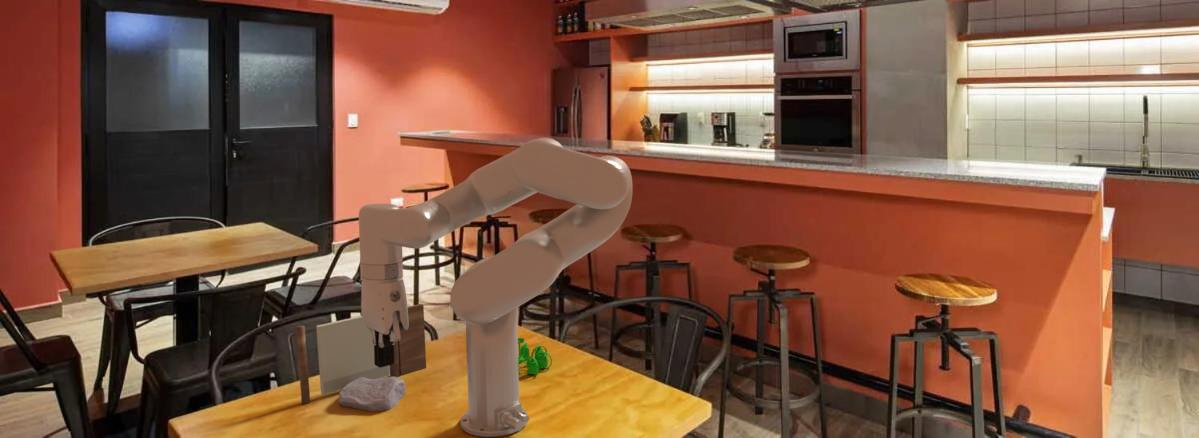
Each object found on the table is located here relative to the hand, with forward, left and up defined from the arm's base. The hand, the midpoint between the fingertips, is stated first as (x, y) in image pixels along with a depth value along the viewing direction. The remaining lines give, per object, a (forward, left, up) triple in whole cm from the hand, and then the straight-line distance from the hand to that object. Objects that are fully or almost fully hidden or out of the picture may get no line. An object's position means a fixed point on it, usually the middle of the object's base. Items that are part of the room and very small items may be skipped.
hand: (384, 364), depth 130 cm
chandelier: (+3, -35, -12) cm, 37 cm away
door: (+19, -3, -10) cm, 22 cm away
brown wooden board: (+19, -5, -11) cm, 23 cm away
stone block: (+10, -2, -12) cm, 15 cm away
